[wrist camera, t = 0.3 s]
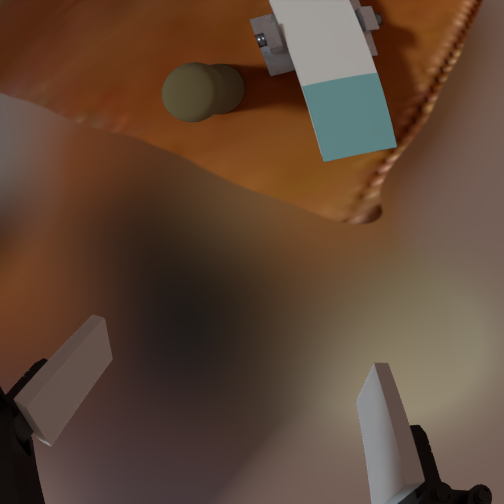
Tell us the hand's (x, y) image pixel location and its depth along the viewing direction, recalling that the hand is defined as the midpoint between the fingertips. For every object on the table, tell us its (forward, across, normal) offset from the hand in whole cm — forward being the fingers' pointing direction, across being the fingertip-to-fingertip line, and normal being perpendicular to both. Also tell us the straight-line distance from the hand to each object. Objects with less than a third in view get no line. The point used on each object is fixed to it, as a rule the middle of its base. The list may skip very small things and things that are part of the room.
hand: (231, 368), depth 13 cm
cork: (+23, -7, +16) cm, 29 cm away
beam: (+16, +3, +22) cm, 27 cm away
